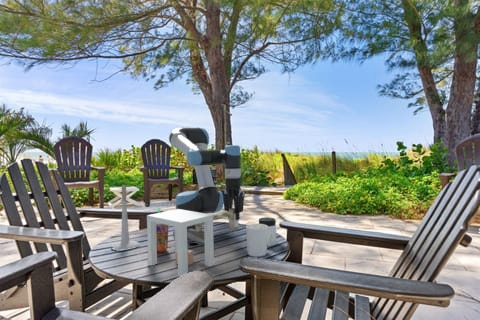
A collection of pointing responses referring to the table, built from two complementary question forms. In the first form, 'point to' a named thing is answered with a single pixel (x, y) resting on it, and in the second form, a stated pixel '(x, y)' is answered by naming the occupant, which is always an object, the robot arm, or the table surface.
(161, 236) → the smoothie
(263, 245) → the candle holder
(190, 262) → the block
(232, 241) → the table surface
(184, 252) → the stool
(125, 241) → the candlestick
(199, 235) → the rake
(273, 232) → the jar
